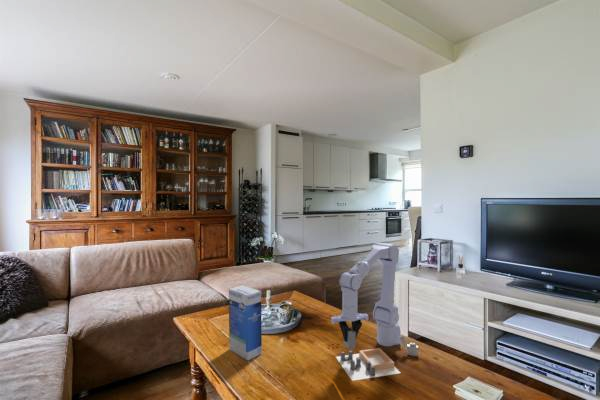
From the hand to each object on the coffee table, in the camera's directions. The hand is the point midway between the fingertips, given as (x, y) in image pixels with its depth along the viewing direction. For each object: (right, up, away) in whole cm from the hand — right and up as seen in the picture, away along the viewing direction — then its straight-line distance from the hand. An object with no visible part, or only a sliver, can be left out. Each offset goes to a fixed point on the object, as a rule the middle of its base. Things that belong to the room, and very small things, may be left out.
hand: (349, 340), depth 115 cm
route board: (+6, -10, -1) cm, 11 cm away
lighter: (+25, -10, +7) cm, 27 cm away
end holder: (+10, -9, +1) cm, 13 cm away
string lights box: (-42, -10, +9) cm, 44 cm away
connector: (0, -2, 0) cm, 2 cm away
